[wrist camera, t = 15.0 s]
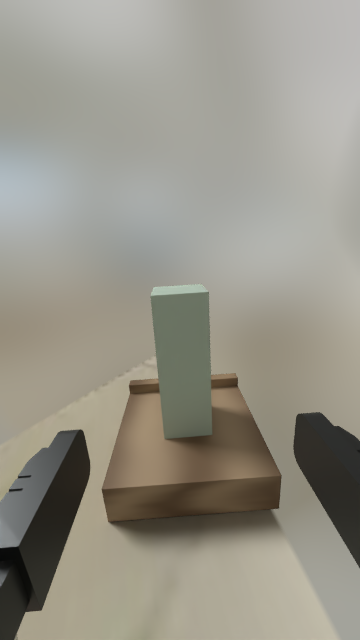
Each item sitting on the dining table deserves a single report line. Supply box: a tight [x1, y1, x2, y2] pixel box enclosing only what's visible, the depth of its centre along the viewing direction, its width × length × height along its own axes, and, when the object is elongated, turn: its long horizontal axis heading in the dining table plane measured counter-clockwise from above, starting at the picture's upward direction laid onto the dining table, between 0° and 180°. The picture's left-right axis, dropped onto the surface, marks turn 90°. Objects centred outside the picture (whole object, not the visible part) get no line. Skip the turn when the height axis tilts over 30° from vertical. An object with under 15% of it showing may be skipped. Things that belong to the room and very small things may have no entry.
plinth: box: [102, 373, 281, 522], centre depth 22 cm, size 12×12×4 cm
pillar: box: [151, 284, 212, 439], centre depth 20 cm, size 4×4×12 cm
